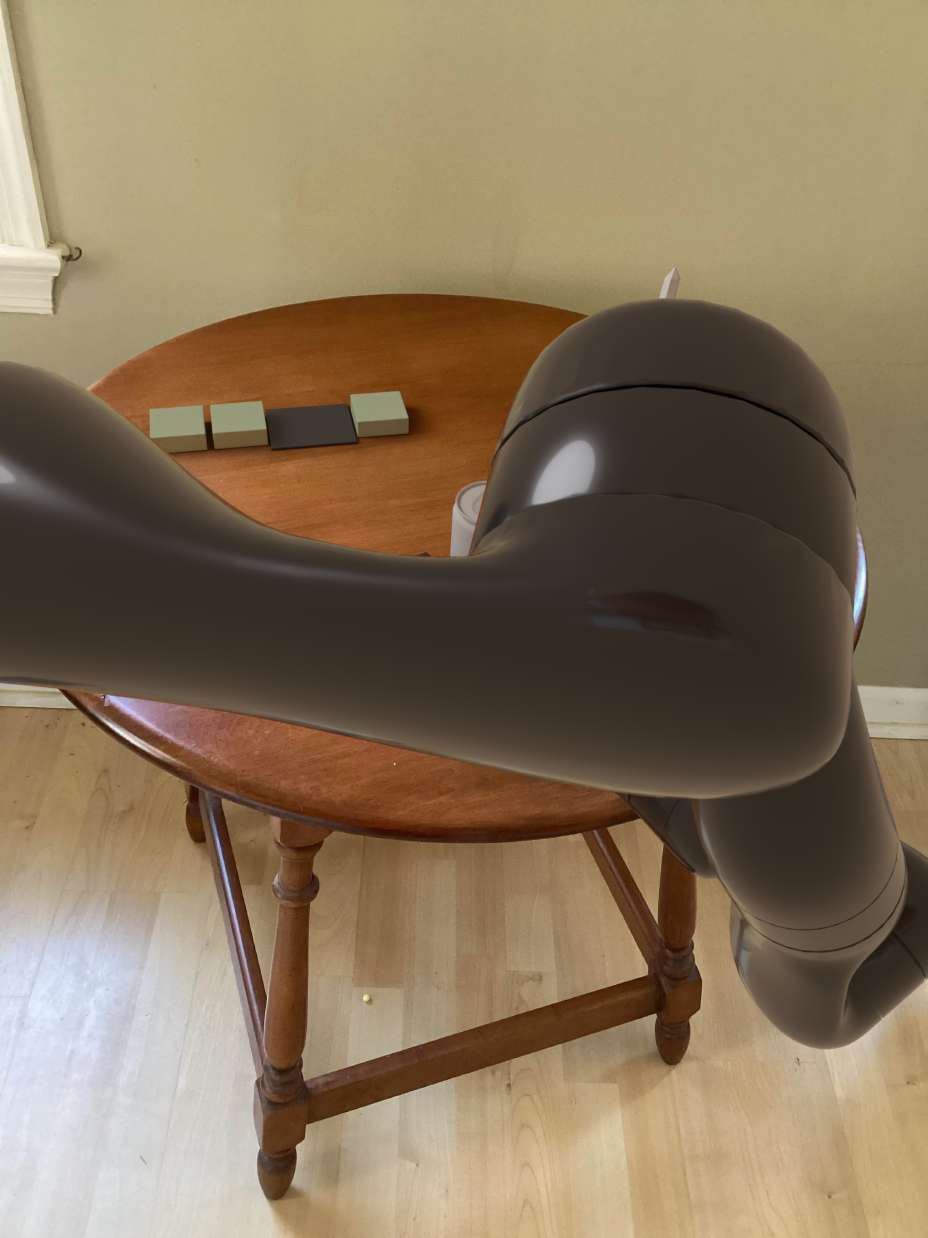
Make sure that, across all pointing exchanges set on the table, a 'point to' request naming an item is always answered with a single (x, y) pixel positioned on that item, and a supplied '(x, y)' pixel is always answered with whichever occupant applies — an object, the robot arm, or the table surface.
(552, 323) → the table surface
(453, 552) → the beverage can
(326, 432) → the far word
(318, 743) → the table surface
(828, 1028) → the robot arm
